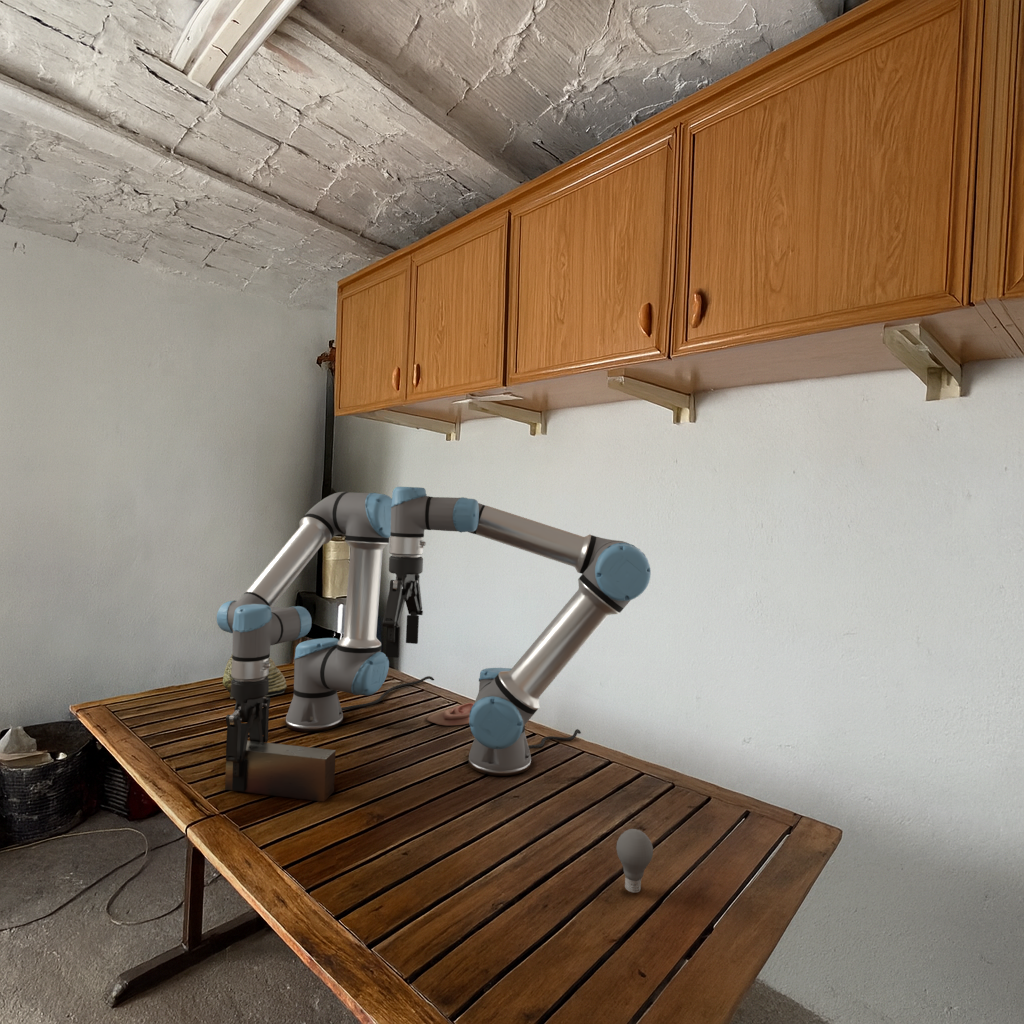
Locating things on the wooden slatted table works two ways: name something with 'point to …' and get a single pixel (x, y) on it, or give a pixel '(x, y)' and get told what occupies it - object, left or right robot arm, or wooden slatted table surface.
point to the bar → (287, 771)
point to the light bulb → (634, 857)
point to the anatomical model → (452, 715)
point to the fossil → (275, 676)
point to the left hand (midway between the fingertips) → (246, 784)
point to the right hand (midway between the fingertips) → (402, 649)
